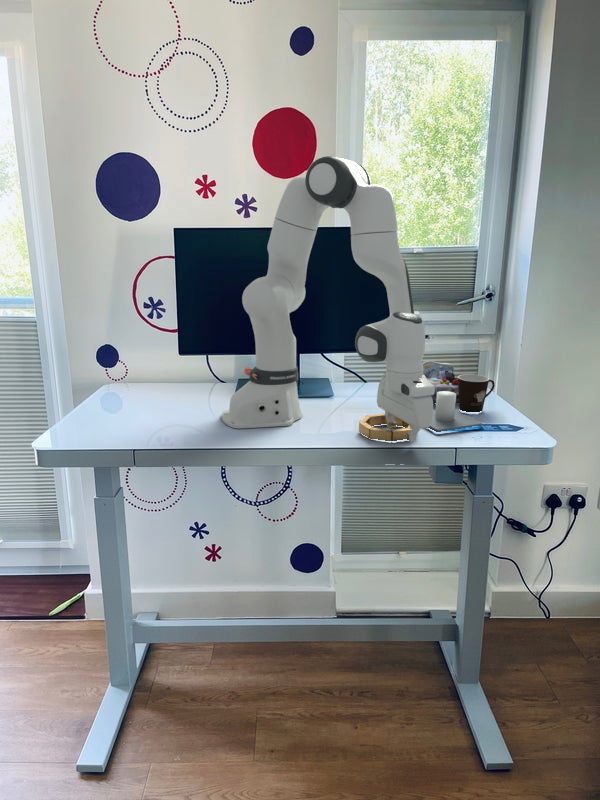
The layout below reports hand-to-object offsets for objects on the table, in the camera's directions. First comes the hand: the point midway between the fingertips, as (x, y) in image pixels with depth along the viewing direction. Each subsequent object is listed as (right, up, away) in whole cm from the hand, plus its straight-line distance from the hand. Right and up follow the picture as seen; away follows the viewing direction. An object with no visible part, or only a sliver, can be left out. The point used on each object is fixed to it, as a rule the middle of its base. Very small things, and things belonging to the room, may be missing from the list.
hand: (401, 434), depth 145 cm
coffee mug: (+26, +5, +24) cm, 35 cm away
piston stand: (+14, +2, +13) cm, 19 cm away
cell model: (+18, +9, +37) cm, 42 cm away
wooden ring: (-2, 0, +6) cm, 6 cm away
